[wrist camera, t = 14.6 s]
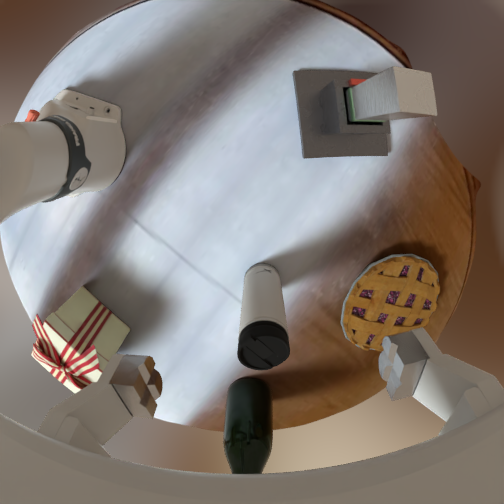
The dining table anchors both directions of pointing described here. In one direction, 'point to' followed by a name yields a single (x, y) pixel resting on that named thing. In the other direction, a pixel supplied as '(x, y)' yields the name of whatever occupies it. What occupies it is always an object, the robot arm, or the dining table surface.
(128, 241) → the dining table surface
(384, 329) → the pie
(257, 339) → the travel mug
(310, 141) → the grey square socket stand
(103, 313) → the gift box
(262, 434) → the green wine bottle
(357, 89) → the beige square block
